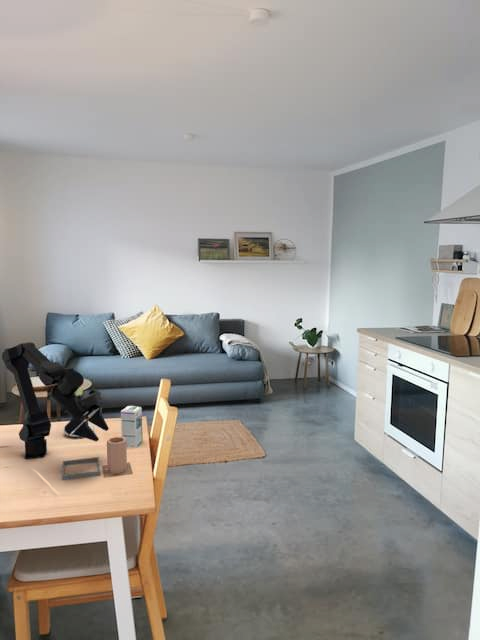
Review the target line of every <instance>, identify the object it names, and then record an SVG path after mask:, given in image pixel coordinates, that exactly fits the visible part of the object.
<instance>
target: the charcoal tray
mask: <svg viewBox="0 0 480 640" xmlns="http://www.w3.org/2000/svg"><path fill="white" fill-rule="evenodd" d="M88 463H89V464H90V463H97V469H98V470H94V471H88V472H80V473H79V472H78V473H71V474H65V466H71V465H79V464H88ZM61 471H62V472H61V475H62V477H61V481H66V480H73V479H74V480H76V479H82V478H91V477H99V476H100V477H101V475H102V474H101V473H102V472H101V471H102V470H101V465H100V457H98V456H97V457H88V458H86V457H85V458H79V459H70V460H63V461H62V470H61Z"/></svg>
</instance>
